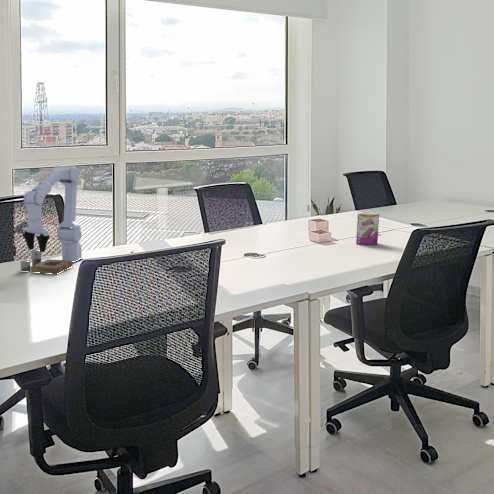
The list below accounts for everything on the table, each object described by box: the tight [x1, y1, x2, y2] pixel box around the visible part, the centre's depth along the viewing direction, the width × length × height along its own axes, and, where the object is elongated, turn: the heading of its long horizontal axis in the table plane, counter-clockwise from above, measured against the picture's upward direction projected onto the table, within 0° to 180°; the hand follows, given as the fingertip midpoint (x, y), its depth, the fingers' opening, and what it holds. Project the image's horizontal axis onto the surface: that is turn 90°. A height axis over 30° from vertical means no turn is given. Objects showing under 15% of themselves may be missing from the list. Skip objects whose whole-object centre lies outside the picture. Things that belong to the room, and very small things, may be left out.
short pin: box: [20, 259, 31, 272], centre depth 296 cm, size 4×4×4 cm
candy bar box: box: [355, 211, 380, 246], centre depth 359 cm, size 11×5×16 cm, turn 84°
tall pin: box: [31, 249, 42, 266], centre depth 304 cm, size 4×4×8 cm
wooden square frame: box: [30, 258, 74, 274], centre depth 299 cm, size 14×12×3 cm
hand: (36, 250), depth 292 cm, fingers open, 7 cm apart
